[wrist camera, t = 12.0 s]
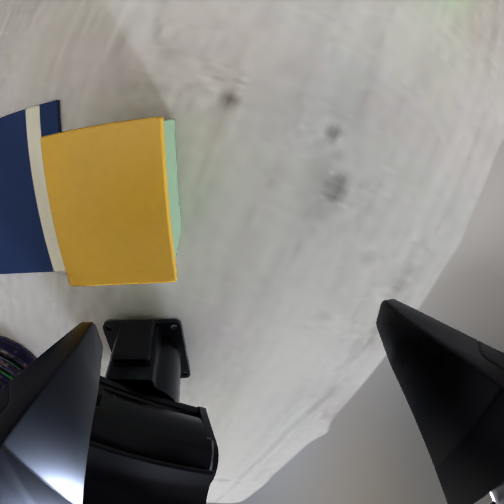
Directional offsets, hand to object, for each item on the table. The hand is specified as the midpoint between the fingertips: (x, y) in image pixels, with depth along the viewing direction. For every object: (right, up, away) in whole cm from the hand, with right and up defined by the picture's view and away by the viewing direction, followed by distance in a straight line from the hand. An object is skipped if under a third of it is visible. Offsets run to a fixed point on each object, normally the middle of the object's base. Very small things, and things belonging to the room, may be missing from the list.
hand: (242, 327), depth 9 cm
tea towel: (-22, +6, +7) cm, 24 cm away
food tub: (-7, +7, +9) cm, 13 cm away
